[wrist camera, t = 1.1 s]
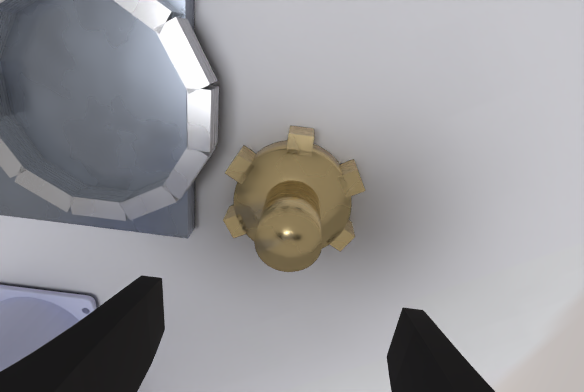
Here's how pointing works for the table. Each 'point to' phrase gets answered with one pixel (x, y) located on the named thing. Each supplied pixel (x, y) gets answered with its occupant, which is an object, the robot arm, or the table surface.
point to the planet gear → (292, 200)
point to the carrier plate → (104, 113)
